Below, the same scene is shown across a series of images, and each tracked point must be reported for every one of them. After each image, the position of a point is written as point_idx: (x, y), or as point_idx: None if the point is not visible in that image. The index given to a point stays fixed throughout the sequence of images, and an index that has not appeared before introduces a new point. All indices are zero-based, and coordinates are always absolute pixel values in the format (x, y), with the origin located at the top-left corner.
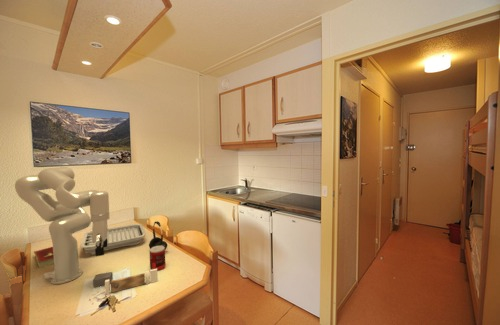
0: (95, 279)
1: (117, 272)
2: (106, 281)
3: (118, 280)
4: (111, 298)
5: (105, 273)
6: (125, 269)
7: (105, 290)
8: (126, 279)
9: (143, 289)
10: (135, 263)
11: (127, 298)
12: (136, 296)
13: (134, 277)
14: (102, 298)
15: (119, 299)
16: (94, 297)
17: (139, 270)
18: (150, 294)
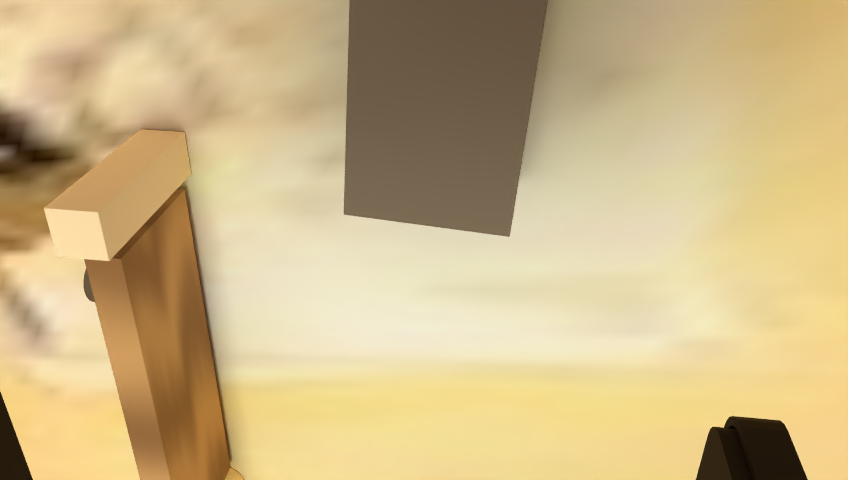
0: (362, 14)
1: (676, 230)
2: (57, 226)
3: (107, 337)
4: (53, 193)
5: (504, 145)
6: (697, 319)
7: (114, 154)
8: (127, 403)
9: (126, 440)
10: (797, 426)
11: (17, 324)
12: (30, 387)
13: (142, 471)
14: (78, 104)
15: (17, 263)
16: (126, 8)
17: (548, 446)
18: (33, 473)
